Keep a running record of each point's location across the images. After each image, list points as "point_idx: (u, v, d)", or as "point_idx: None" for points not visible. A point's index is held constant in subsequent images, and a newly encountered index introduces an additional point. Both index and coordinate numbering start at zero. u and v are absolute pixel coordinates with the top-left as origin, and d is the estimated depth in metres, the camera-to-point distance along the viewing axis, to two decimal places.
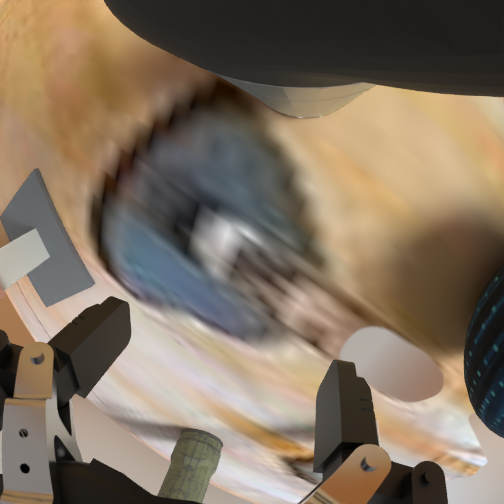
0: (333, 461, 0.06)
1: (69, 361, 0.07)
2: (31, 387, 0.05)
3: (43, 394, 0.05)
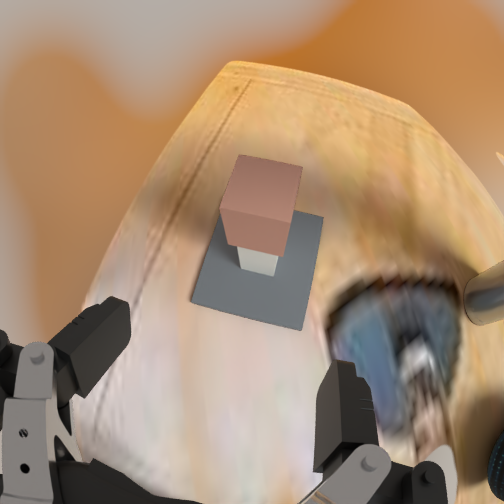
0: (333, 461, 0.06)
1: (69, 361, 0.07)
2: (31, 387, 0.05)
3: (43, 394, 0.05)
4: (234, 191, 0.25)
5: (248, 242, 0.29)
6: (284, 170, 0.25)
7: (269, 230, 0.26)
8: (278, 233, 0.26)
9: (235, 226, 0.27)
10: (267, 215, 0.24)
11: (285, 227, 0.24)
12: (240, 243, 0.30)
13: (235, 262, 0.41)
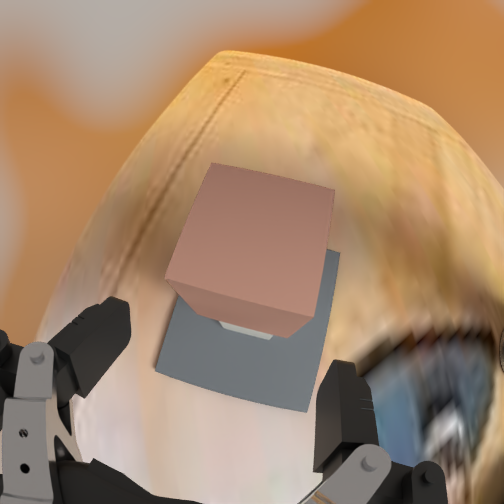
0: (333, 461, 0.06)
1: (69, 361, 0.07)
2: (31, 387, 0.05)
3: (43, 394, 0.05)
4: (196, 241, 0.12)
5: (229, 319, 0.17)
6: (300, 196, 0.13)
7: (267, 317, 0.13)
8: (284, 322, 0.13)
9: (203, 303, 0.14)
10: (264, 299, 0.11)
11: (300, 319, 0.12)
12: (216, 317, 0.17)
13: None
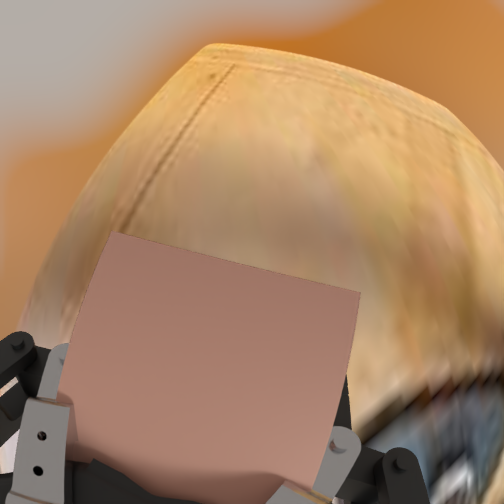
0: None
1: None
2: (57, 389, 0.05)
3: None
4: (82, 404, 0.05)
5: None
6: (286, 314, 0.06)
7: None
8: None
9: None
10: None
11: None
12: None
13: None
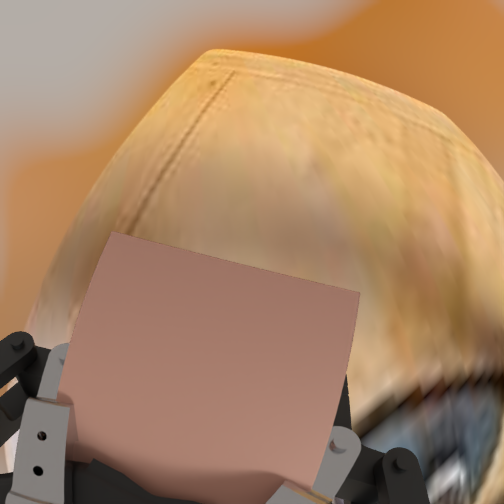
0: None
1: None
2: (56, 389, 0.05)
3: None
4: (82, 404, 0.05)
5: None
6: (286, 314, 0.06)
7: None
8: None
9: None
10: None
11: None
12: None
13: None
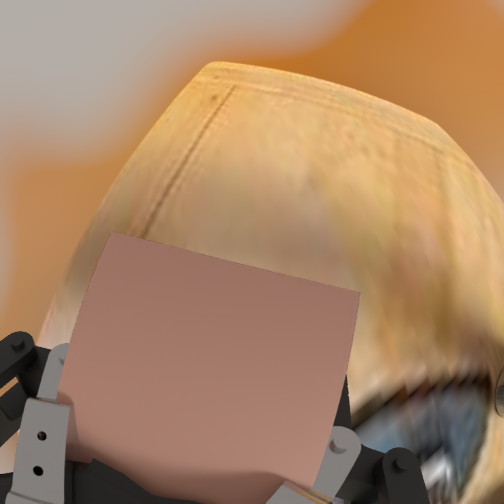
0: None
1: None
2: (57, 390, 0.05)
3: None
4: (82, 404, 0.05)
5: None
6: (286, 314, 0.06)
7: None
8: None
9: None
10: None
11: None
12: None
13: None
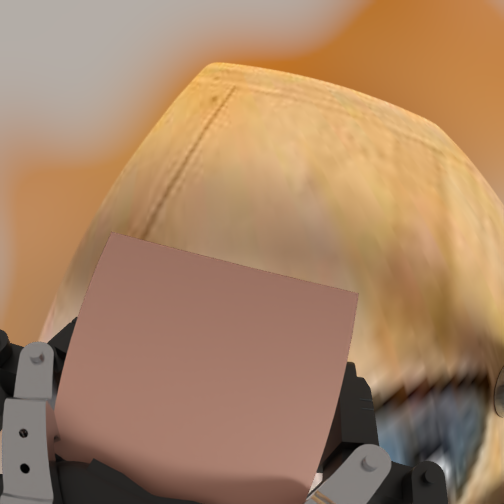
0: (333, 461, 0.06)
1: None
2: (31, 387, 0.05)
3: (43, 394, 0.05)
4: (82, 404, 0.05)
5: None
6: (284, 315, 0.06)
7: None
8: None
9: None
10: None
11: None
12: None
13: None
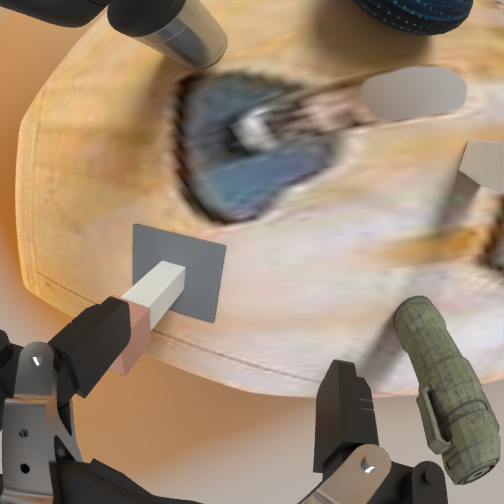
0: (333, 461, 0.06)
1: (69, 361, 0.07)
2: (31, 387, 0.05)
3: (43, 394, 0.05)
4: (112, 367, 0.31)
5: (144, 336, 0.36)
6: None
7: (130, 342, 0.31)
8: None
9: (134, 356, 0.33)
10: None
11: None
12: (147, 338, 0.37)
13: None
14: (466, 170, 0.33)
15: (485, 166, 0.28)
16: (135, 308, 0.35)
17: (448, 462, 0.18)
